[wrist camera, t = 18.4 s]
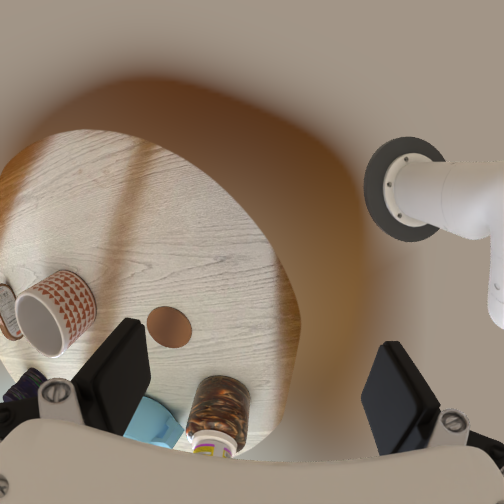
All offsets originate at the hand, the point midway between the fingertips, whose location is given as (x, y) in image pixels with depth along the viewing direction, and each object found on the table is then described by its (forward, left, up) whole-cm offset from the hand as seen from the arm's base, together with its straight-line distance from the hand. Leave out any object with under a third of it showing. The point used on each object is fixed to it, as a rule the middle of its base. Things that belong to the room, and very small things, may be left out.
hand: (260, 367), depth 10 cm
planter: (+39, +20, -36) cm, 57 cm away
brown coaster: (+16, +22, -36) cm, 45 cm away
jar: (+5, +38, -36) cm, 53 cm away
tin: (+61, +26, -36) cm, 76 cm away
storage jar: (+62, +52, -36) cm, 89 cm away
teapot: (+24, +51, -36) cm, 67 cm away
